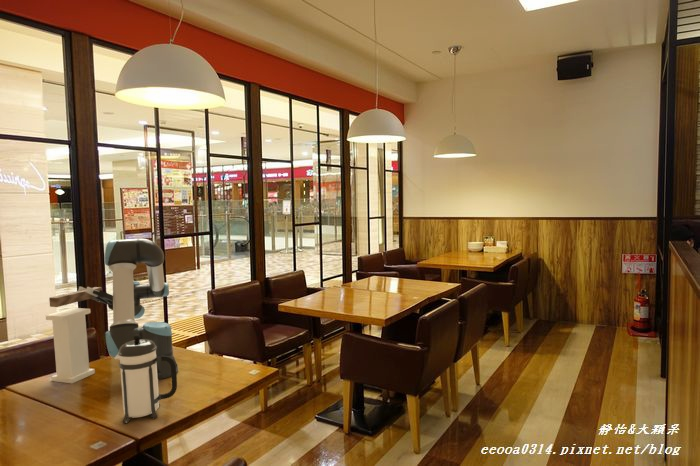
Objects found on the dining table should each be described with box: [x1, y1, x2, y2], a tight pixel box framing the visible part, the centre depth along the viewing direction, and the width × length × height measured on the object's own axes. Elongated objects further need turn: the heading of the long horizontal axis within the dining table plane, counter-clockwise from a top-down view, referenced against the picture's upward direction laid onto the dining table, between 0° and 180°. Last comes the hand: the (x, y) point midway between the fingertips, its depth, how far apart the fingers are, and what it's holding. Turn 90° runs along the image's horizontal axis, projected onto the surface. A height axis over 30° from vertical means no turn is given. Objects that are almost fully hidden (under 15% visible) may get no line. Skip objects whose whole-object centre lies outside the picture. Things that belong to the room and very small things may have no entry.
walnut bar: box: [48, 286, 103, 308], centre depth 211 cm, size 24×4×4 cm, turn 162°
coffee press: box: [113, 335, 178, 424], centre depth 168 cm, size 17×16×30 cm
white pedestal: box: [45, 307, 96, 384], centre depth 207 cm, size 14×12×30 cm
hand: (83, 289), depth 214 cm, fingers closed on walnut bar, 4 cm apart
